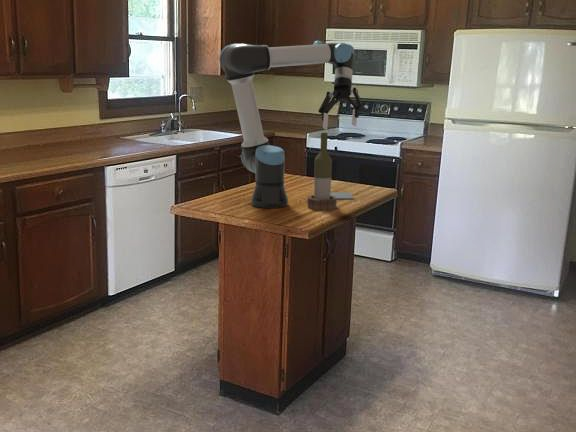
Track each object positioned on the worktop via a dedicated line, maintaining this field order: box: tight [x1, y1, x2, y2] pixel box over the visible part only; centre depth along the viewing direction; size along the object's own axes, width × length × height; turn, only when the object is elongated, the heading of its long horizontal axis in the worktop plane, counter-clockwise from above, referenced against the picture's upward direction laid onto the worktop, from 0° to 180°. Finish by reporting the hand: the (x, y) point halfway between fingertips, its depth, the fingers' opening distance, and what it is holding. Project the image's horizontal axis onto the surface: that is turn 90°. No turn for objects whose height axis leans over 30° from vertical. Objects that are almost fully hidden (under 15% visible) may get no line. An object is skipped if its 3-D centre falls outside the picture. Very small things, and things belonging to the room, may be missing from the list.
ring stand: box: [307, 194, 338, 211], centre depth 260 cm, size 11×11×4 cm
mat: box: [330, 191, 355, 201], centre depth 281 cm, size 12×12×1 cm
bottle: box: [313, 132, 333, 200], centre depth 257 cm, size 7×7×30 cm
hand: (339, 126), depth 269 cm, fingers open, 13 cm apart
